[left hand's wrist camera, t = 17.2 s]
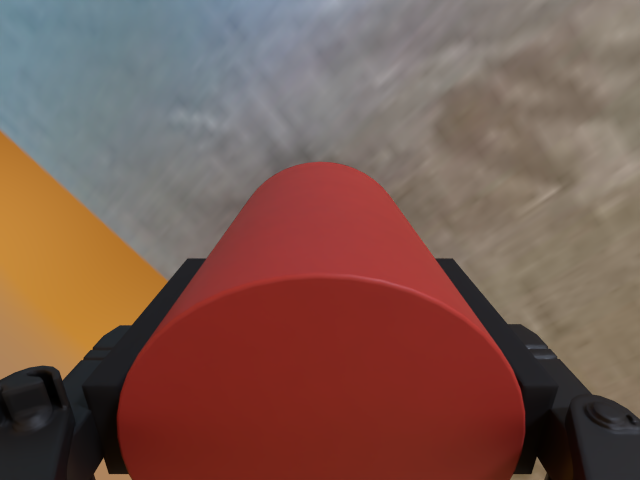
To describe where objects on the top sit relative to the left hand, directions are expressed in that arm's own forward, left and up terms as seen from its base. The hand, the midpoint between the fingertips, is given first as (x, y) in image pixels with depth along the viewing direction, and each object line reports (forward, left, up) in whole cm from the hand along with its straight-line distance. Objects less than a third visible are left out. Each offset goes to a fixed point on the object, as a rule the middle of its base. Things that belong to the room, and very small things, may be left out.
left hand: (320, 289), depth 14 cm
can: (0, 0, -5) cm, 5 cm away
